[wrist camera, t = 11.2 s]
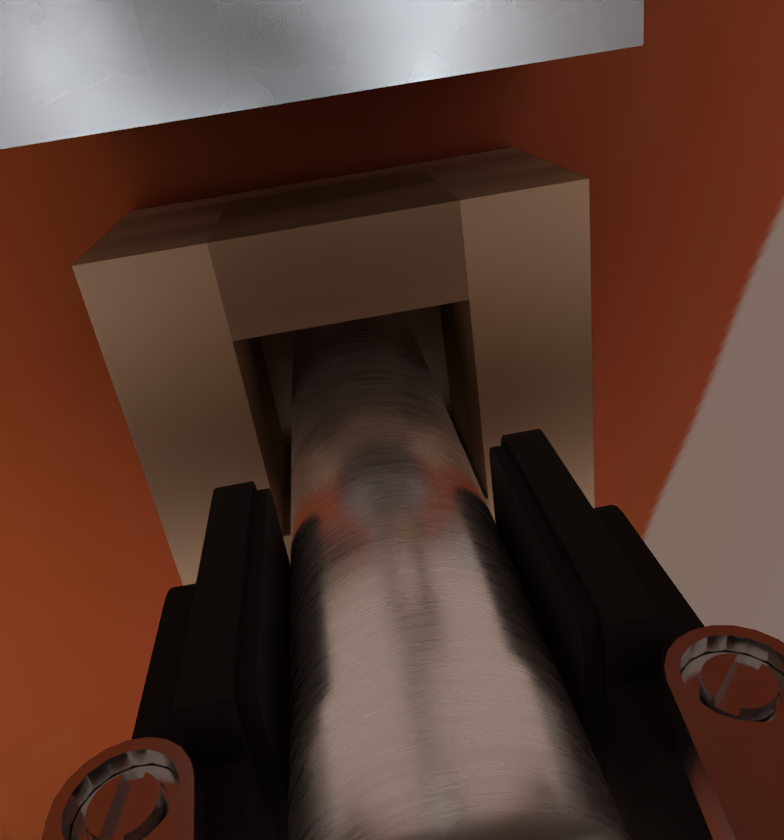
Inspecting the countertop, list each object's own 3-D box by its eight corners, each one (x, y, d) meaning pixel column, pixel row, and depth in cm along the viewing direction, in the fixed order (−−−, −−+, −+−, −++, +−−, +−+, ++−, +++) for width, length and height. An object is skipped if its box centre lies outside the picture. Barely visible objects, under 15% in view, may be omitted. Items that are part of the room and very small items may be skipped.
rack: (131, 210, 17) (71, 265, 12) (512, 147, 17) (588, 178, 13) (217, 499, 20) (196, 622, 16) (531, 441, 21) (595, 546, 16)
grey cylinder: (279, 320, 16) (249, 857, 5) (414, 296, 16) (651, 775, 5) (306, 439, 17) (323, 1057, 7) (430, 416, 17) (643, 987, 7)
